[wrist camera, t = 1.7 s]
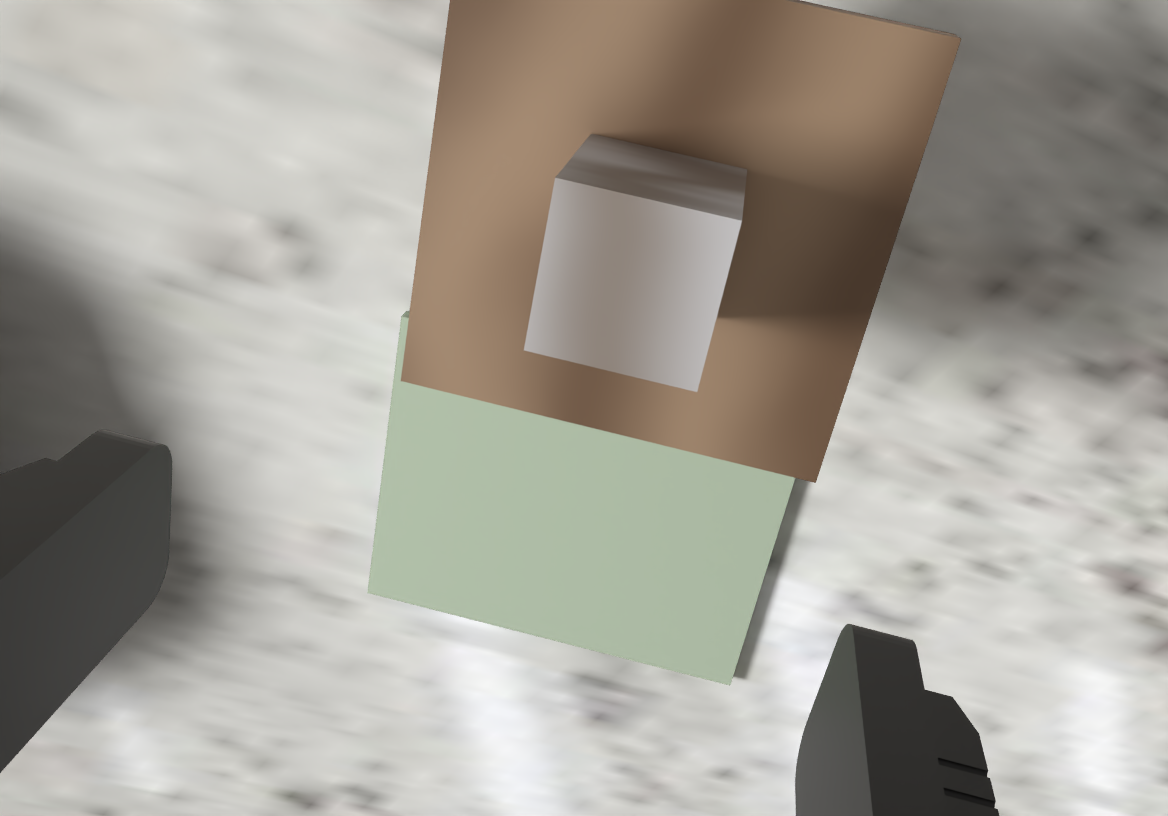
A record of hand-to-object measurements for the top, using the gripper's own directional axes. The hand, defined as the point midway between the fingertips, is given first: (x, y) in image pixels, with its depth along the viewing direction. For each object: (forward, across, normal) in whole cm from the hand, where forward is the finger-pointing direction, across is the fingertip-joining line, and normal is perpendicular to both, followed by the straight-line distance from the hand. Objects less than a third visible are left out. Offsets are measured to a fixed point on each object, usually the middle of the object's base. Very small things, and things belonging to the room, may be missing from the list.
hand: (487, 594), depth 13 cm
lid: (+18, 0, 0) cm, 18 cm away
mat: (+28, +1, +15) cm, 32 cm away
